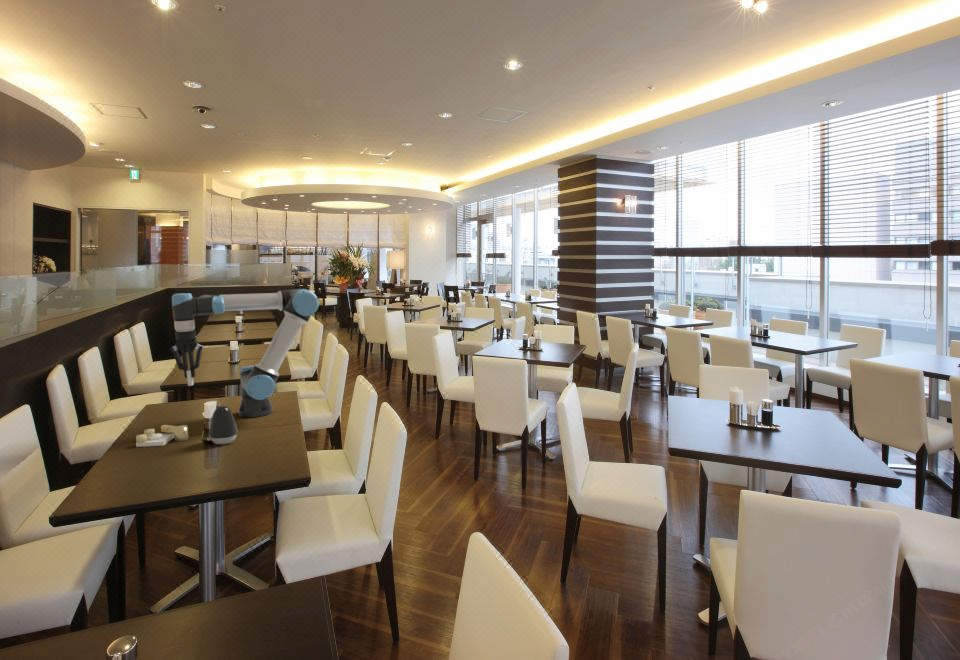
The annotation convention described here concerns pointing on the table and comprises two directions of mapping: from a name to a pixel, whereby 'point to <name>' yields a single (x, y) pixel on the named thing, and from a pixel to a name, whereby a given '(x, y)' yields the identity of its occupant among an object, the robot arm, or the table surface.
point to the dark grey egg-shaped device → (222, 426)
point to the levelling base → (152, 438)
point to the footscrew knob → (177, 431)
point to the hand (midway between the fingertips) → (190, 384)
